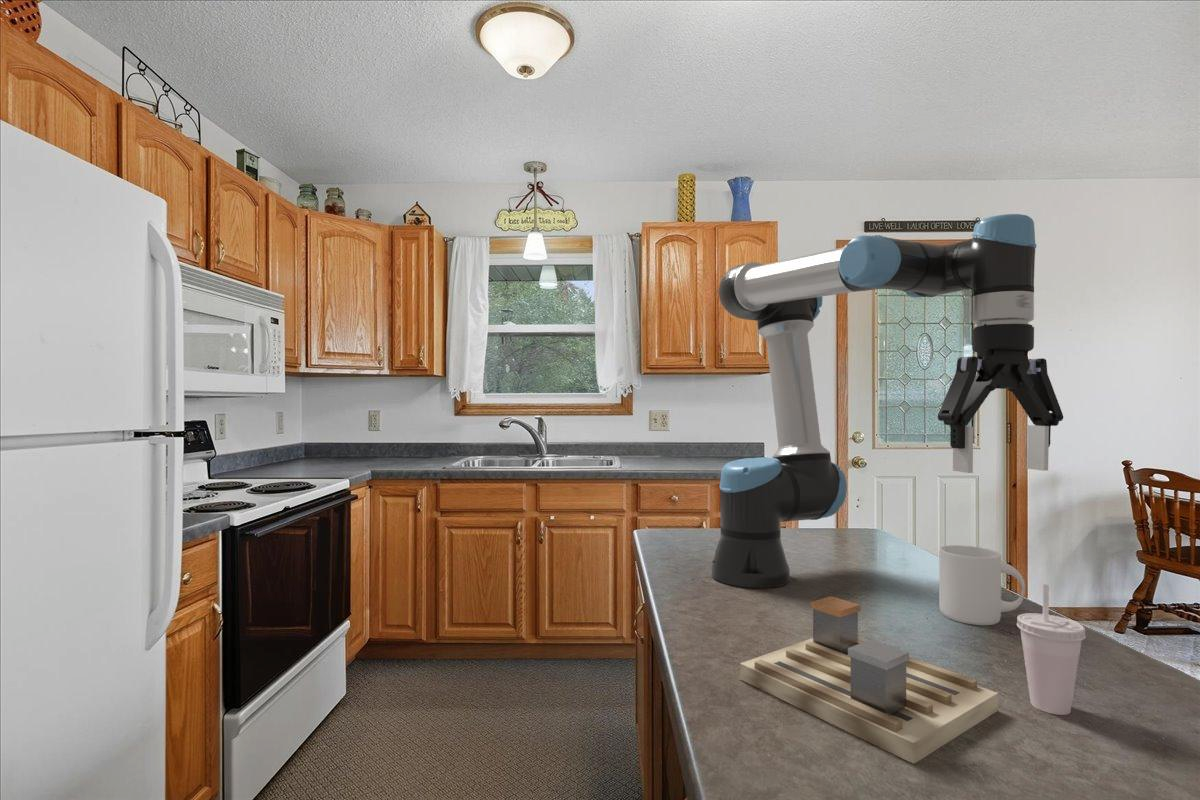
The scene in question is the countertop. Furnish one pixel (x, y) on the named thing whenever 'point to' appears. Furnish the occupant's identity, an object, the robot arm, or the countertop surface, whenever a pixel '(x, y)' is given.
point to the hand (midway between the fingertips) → (1000, 470)
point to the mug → (974, 584)
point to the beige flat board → (911, 733)
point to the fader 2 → (878, 676)
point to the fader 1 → (835, 623)
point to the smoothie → (1050, 657)
